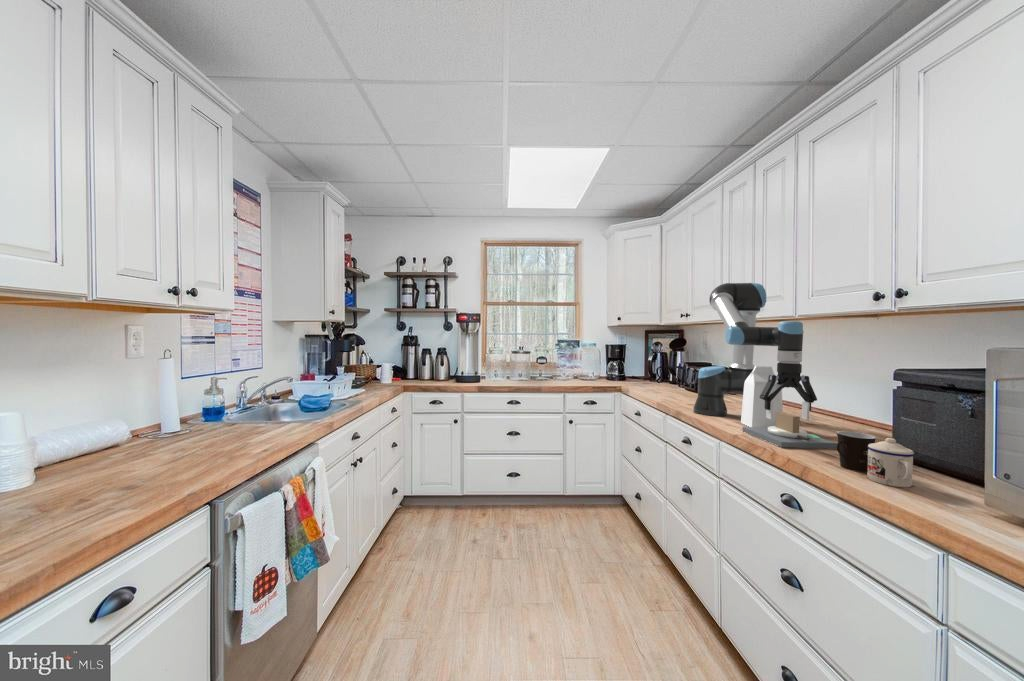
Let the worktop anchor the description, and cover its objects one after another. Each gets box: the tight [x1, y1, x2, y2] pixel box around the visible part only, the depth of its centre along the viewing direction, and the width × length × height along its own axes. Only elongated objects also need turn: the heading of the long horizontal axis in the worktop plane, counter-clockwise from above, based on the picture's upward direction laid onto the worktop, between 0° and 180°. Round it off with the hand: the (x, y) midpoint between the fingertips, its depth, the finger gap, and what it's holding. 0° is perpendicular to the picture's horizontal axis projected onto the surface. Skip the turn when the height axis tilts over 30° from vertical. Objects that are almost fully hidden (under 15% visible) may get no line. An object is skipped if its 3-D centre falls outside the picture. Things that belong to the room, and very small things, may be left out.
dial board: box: [742, 426, 838, 449], centre depth 146 cm, size 22×20×2 cm
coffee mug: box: [836, 430, 877, 473], centre depth 115 cm, size 12×9×10 cm
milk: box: [740, 365, 784, 427], centre depth 168 cm, size 12×12×26 cm
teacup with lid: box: [866, 437, 915, 488], centre depth 103 cm, size 12×9×12 cm
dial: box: [768, 411, 809, 440], centre depth 144 cm, size 16×12×8 cm
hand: (787, 419), depth 146 cm, fingers open, 13 cm apart
